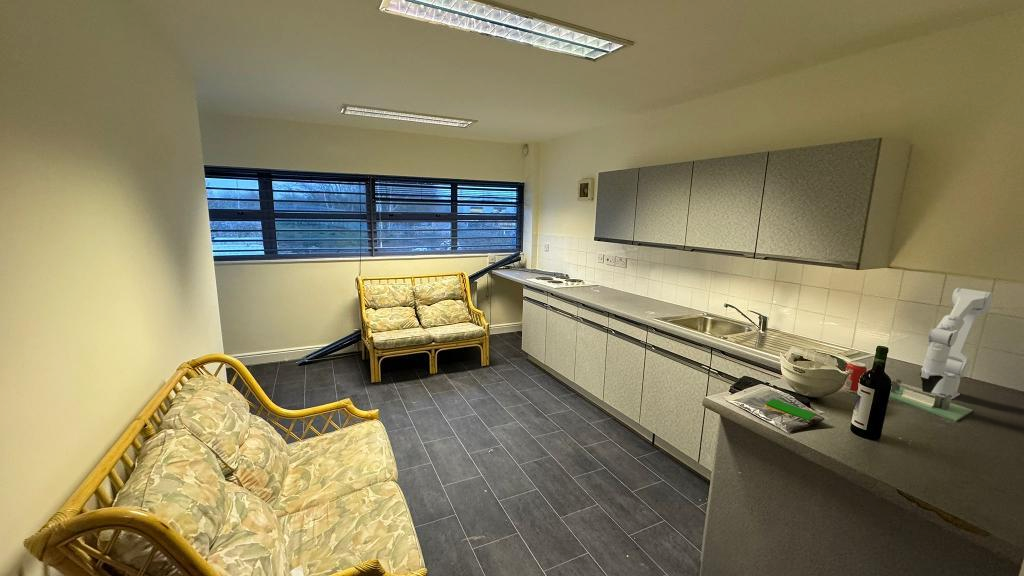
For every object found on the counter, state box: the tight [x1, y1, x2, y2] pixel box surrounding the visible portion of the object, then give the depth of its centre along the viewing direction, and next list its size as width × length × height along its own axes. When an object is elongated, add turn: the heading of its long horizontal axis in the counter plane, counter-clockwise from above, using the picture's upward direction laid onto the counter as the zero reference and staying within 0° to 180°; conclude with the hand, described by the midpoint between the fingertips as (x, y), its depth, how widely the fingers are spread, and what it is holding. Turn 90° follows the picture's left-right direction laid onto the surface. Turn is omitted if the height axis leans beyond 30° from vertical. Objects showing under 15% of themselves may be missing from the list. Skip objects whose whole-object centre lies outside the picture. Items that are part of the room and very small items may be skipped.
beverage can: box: [842, 360, 868, 394], centre depth 164 cm, size 6×6×12 cm
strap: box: [897, 382, 946, 399], centre depth 157 cm, size 3×14×1 cm, turn 28°
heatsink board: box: [889, 378, 973, 422], centre depth 157 cm, size 16×24×6 cm, turn 28°
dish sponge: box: [764, 398, 816, 421], centre depth 146 cm, size 7×14×2 cm, turn 38°
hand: (926, 391), depth 155 cm, fingers closed, pressing on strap
